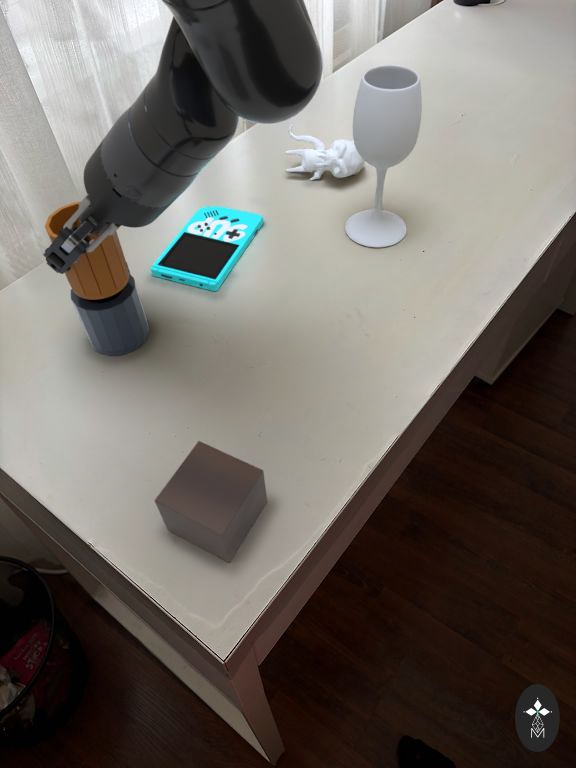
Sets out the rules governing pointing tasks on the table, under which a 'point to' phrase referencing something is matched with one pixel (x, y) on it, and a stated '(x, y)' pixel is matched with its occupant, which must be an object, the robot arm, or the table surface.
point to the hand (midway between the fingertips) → (75, 245)
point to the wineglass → (384, 143)
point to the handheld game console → (208, 247)
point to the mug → (114, 320)
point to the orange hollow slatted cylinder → (92, 261)
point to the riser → (213, 500)
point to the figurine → (327, 157)
